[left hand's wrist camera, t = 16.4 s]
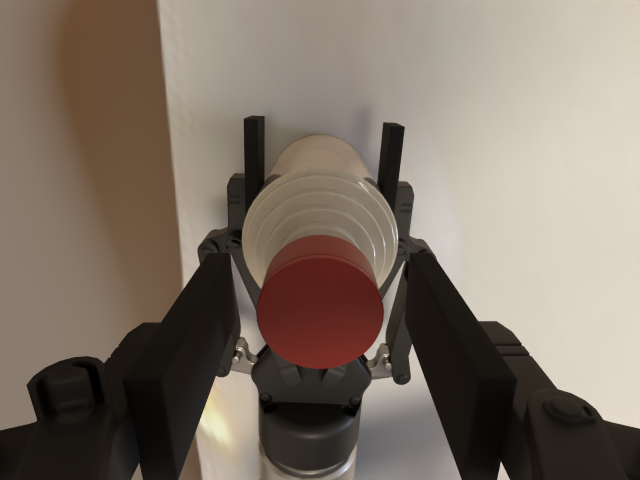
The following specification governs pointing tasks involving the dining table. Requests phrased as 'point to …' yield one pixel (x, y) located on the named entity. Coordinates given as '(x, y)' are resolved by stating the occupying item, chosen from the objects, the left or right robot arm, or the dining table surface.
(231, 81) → the dining table surface
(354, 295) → the cap
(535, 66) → the dining table surface
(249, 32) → the dining table surface
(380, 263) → the bottle
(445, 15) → the dining table surface
